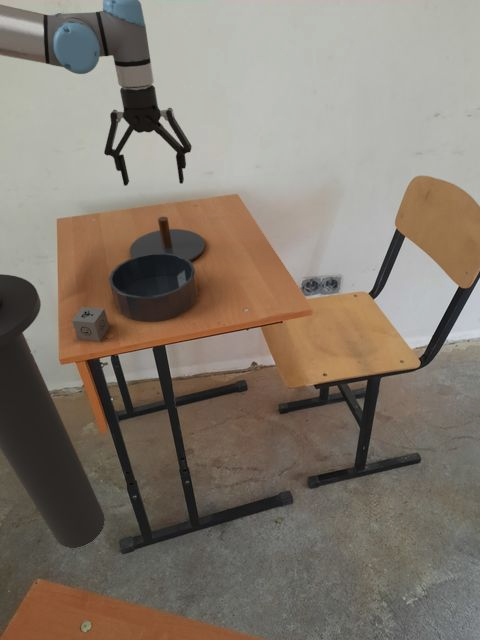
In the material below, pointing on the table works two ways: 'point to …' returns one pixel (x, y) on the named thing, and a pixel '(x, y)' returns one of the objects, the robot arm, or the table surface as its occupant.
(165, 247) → the lid
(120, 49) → the robot arm
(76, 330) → the dice cube
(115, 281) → the pot
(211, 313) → the table surface
